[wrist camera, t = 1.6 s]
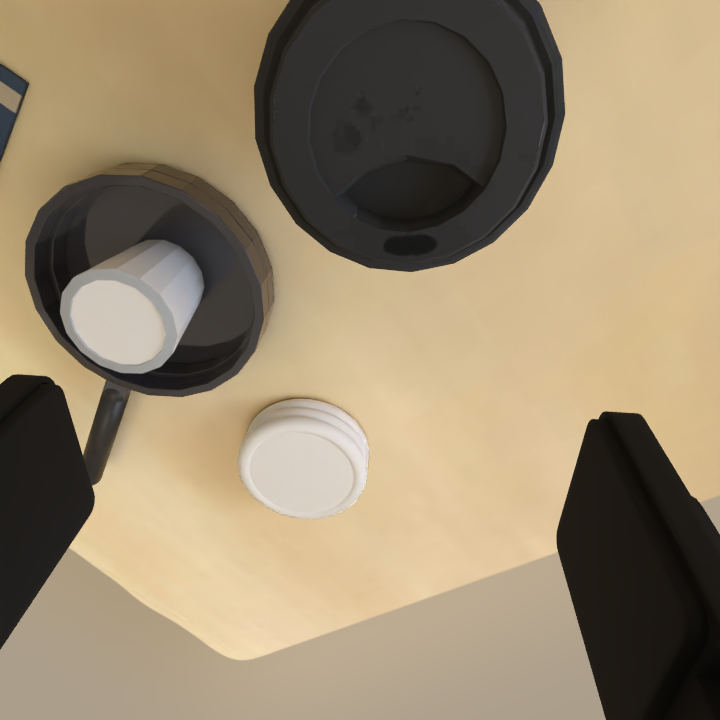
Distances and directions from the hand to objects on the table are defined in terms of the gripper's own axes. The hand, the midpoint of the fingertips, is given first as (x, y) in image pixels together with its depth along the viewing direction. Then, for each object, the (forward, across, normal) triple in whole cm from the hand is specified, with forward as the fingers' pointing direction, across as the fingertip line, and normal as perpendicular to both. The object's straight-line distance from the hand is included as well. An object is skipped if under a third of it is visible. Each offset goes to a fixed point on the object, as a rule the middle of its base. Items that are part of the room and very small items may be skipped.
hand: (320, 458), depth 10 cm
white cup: (+27, +15, +8) cm, 32 cm away
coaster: (+27, +5, +22) cm, 36 cm away
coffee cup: (+27, -1, -4) cm, 27 cm away
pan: (+27, +15, +8) cm, 32 cm away
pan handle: (+25, +20, +20) cm, 38 cm away
